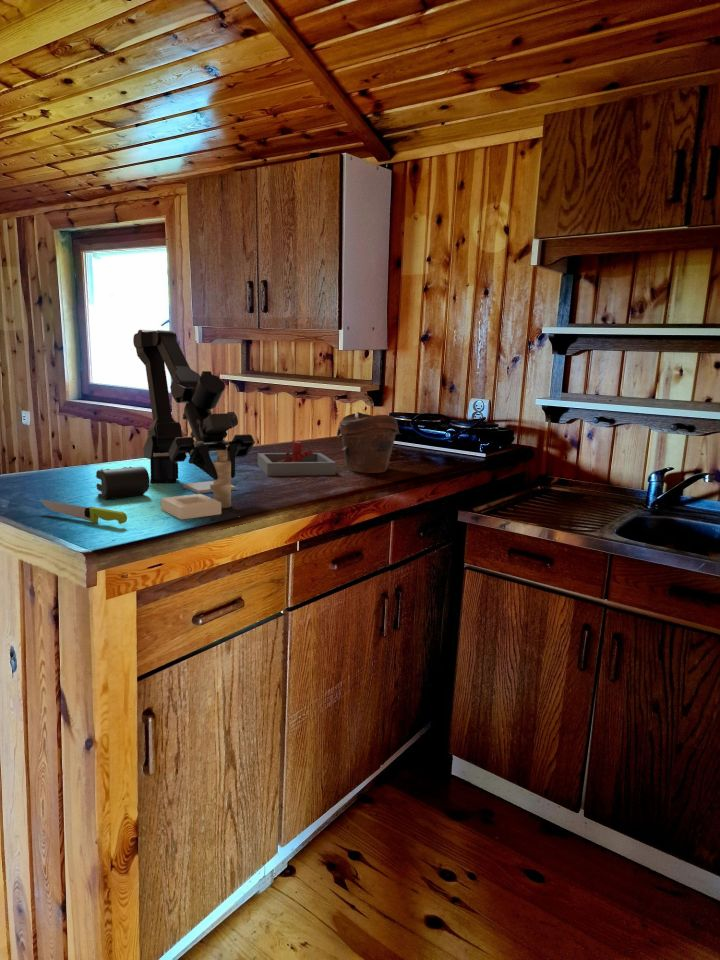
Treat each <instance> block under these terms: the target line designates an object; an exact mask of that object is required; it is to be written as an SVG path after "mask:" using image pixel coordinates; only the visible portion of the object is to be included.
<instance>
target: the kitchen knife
mask: <svg viewBox="0 0 720 960" xmlns="http://www.w3.org/2000/svg"><path fill="white" fill-rule="evenodd" d="M40 502H41V503H42V504H43V505H44V506H45V507H46V508H47V509H48V510H50V511H52V512H54V513H59V514H63V515H66V516H70V517H73V518H77V519H81V520H84V521H88V522H90V523H91V524H97V523H99V518H100V519H101V520H103V521H106V522H107V521H109V522H110V521H117V522H118V525H121V524H125V523H126V522H127V520H128V516H127V513H125V512H124V511H118V510H114V509H108V508H107V509H106V508H101V507H95V506H89V507H88V506H87V507H86V506H81V505H74V504H69V503H65V502H64V503H63V502H58V501H51V500H45V499H40Z"/></svg>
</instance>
